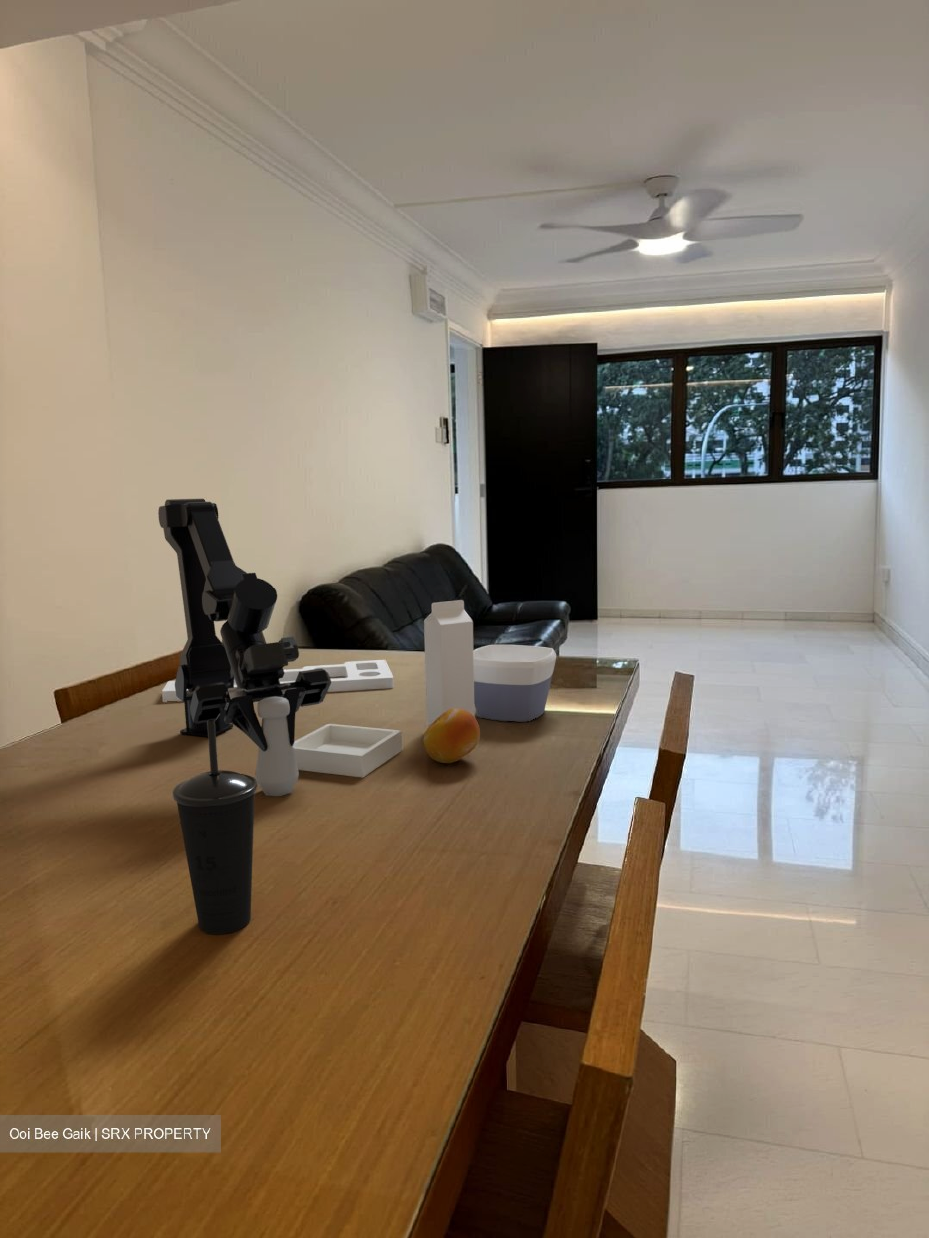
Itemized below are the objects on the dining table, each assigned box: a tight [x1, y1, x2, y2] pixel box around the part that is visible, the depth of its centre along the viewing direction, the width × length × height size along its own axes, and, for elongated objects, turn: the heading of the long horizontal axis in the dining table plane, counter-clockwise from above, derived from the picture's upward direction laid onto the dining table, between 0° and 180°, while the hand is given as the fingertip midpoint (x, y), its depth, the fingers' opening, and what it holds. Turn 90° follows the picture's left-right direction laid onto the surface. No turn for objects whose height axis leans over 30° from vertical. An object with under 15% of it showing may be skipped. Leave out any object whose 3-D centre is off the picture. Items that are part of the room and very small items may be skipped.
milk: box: [423, 599, 476, 730], centre depth 142 cm, size 6×6×22 cm
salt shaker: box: [255, 697, 300, 797], centre depth 117 cm, size 6×6×13 cm
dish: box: [293, 723, 403, 778], centre depth 131 cm, size 13×13×3 cm
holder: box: [161, 659, 395, 703], centre depth 180 cm, size 45×18×3 cm, turn 101°
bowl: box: [473, 644, 557, 723], centre depth 154 cm, size 15×15×11 cm
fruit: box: [423, 708, 481, 764], centre depth 128 cm, size 8×9×8 cm
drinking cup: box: [172, 720, 258, 935], centre depth 82 cm, size 8×8×20 cm
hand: (279, 747), depth 116 cm, fingers closed on salt shaker, 3 cm apart
